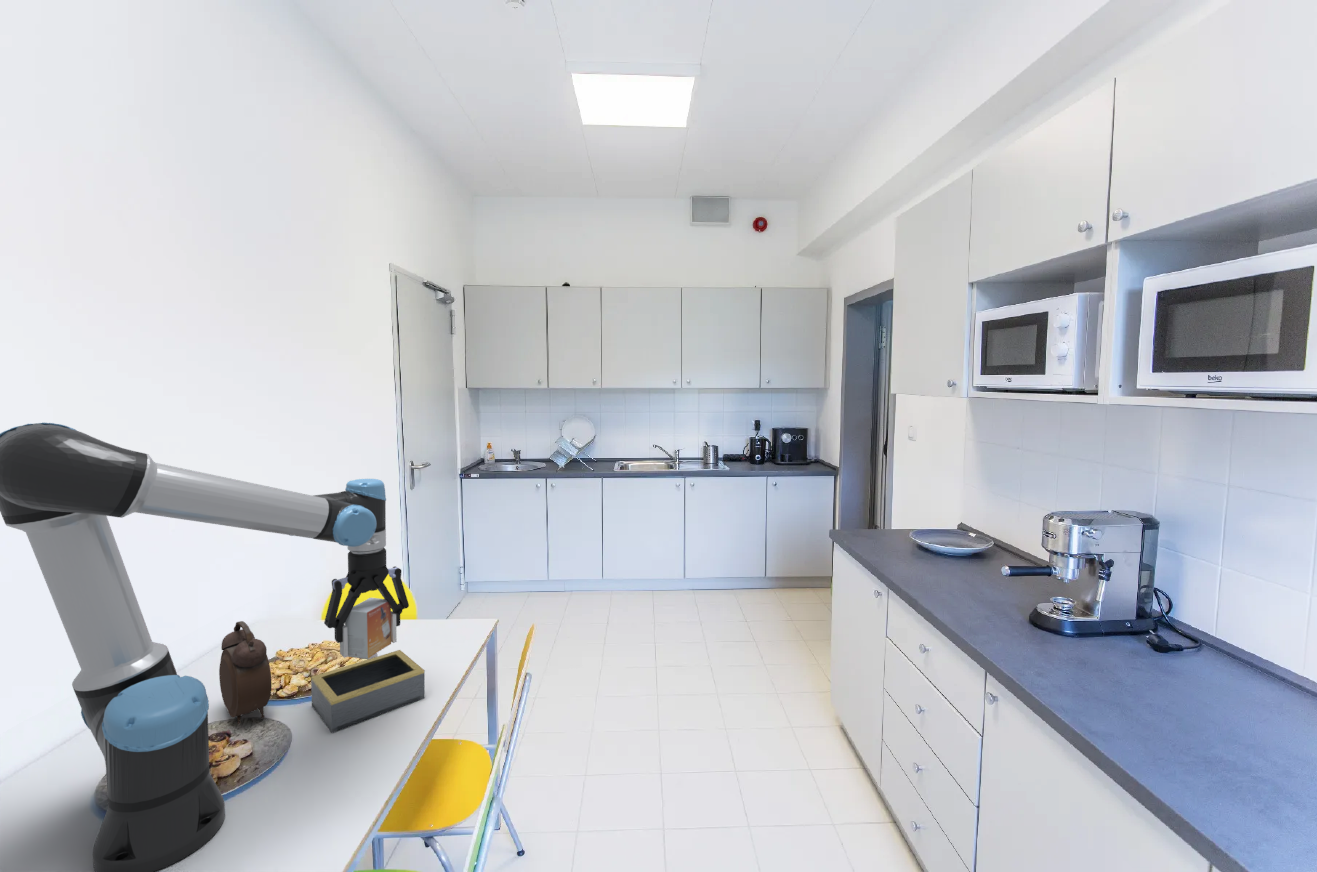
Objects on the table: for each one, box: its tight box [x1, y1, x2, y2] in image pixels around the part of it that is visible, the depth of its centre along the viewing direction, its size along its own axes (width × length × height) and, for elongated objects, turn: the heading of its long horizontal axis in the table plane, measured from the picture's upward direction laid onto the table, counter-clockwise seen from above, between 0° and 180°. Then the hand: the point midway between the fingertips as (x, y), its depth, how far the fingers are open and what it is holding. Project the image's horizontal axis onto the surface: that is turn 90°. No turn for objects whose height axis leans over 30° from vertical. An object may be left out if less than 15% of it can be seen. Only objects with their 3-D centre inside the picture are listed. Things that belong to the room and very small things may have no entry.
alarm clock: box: [218, 620, 273, 725], centre depth 117 cm, size 14×7×20 cm, turn 50°
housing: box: [310, 649, 426, 734], centre depth 124 cm, size 19×14×7 cm
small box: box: [344, 597, 392, 660], centre depth 123 cm, size 8×6×10 cm
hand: (369, 647), depth 123 cm, fingers closed on small box, 9 cm apart
